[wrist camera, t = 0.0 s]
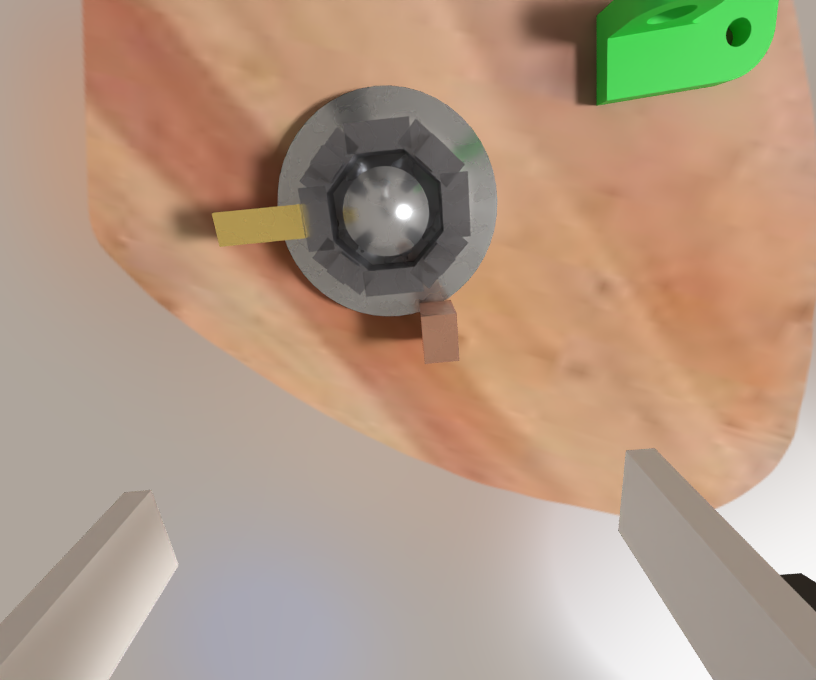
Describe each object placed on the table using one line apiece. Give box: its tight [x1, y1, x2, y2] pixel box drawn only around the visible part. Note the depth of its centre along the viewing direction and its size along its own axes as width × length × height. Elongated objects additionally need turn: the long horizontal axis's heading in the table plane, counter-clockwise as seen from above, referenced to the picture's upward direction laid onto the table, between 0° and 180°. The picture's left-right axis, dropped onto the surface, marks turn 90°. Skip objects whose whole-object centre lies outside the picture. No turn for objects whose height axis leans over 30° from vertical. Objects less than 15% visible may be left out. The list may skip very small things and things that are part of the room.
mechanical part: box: [597, 0, 779, 105], centre depth 28 cm, size 12×6×8 cm, turn 99°
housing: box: [278, 86, 497, 364], centre depth 33 cm, size 21×18×6 cm
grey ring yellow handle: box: [212, 116, 471, 297], centre depth 32 cm, size 19×12×4 cm, turn 95°
